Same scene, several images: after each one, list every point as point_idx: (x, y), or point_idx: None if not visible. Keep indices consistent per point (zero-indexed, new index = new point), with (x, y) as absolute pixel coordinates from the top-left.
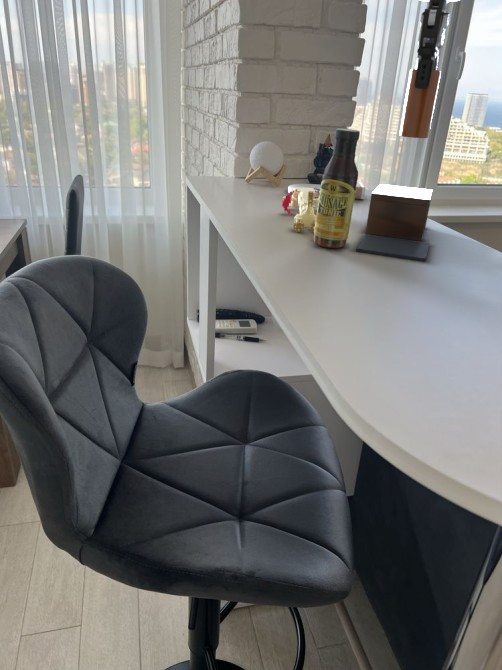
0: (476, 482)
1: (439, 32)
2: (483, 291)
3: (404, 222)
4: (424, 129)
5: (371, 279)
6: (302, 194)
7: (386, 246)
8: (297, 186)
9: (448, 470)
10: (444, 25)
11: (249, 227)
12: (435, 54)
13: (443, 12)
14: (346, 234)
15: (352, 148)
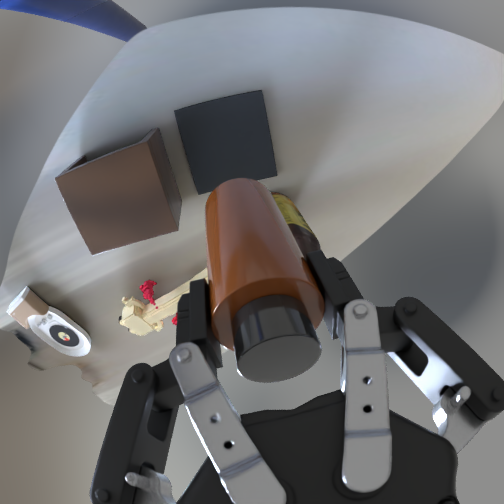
0: None
1: (337, 417)
2: (330, 19)
3: (163, 161)
4: (265, 190)
5: (363, 127)
6: (171, 313)
7: (240, 149)
8: (68, 351)
9: None
10: (388, 420)
11: None
12: (352, 322)
13: (387, 483)
14: (279, 196)
15: None
